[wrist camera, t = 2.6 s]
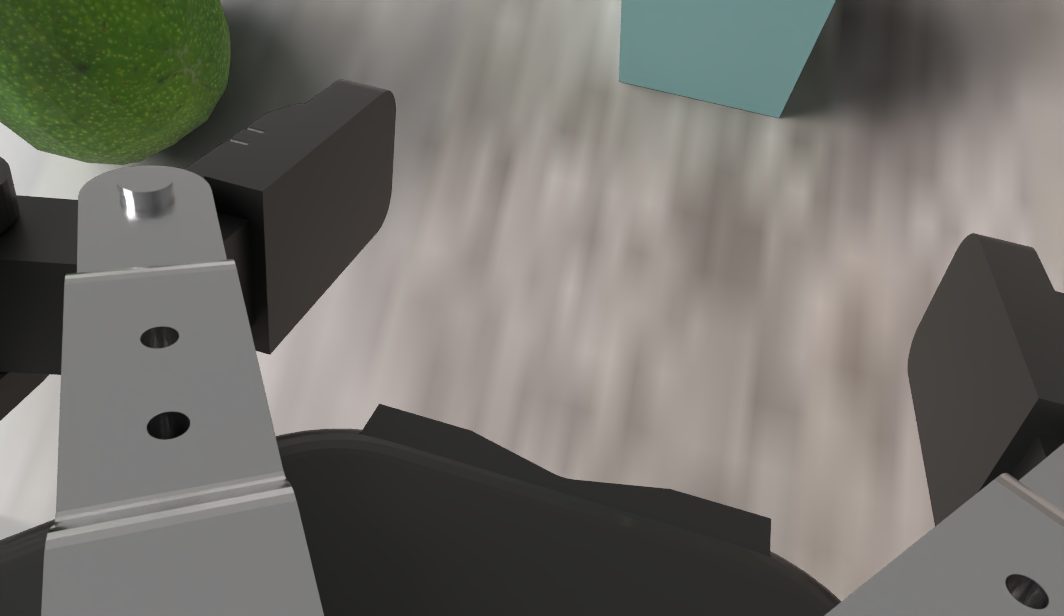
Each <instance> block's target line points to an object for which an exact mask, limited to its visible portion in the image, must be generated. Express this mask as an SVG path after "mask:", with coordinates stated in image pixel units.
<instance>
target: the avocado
mask: <svg viewBox="0 0 1064 616" xmlns="http://www.w3.org/2000/svg"><path fill="white" fill-rule="evenodd" d="M230 60H231V45H230V32H229V26H228V23H227V20H226V17H225V14H224V11H223V9H222V6H221V3H220V0H0V122H1V123H2V124H4V125H5V126H7V127H8V128H9V129H11V130H12V131H13V132H15V133H16V134H17V135H19V136H20V137H21V138H23V139H24V140H25V141H27V142H28V143H29V144H31V145H32V146H33V147H35V148H36V149H37V150H40V151H44V152H48V153H52V154H56V155H60V156H64V157H67V158H71V159H75V160H79V161H83V162H87V163H102V164H118V165H123V164H128V163H133V162H139V161H141V160H144V159H146V158H148V157H150V156H152V155H154V154H156V153H158V152H160V151H162V150H164V149H166V148H168V147H170V146H172V145H174V144H176V143H177V142H178V141H179V140H181V139H182V138H183V137H184V136H186V135H187V134H189V133H190V132H192V131H193V130H194V129H196V128H197V127H199V126H200V125H202V124H203V123H204V122H206V121H207V120H208V119H209V117H210V116H211V114H212V112H213V110H214V109H215V107H216V105H217V103H218V102H219V100H220V98H221V97H222V95H223V93H224V91H225V90H226V88H227V84H228V76H229V68H230Z"/></svg>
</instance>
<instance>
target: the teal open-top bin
mask: <svg viewBox="0 0 1064 616" xmlns="http://www.w3.org/2000/svg"><path fill="white" fill-rule="evenodd" d="M835 1H836V0H622V4H621V35H620V65H619V81H620V82H624V83H628V84H633V85H637V86H642V87H646V88H650V89H655V90H659V91H663V92H668V93H672V94H676V95H681V96H685V97H690V98H694V99H698V100H703V101H707V102H711V103H716V104H720V105H725V106H729V107H733V108H738V109H742V110H746V111H751V112H755V113H760V114H764V115H768V116H773V117H777V118H779V117H780V115H781V113H782V111H783V109H784V107H785V105H786V102H787V100H788V98H789V96H790V94H791V92H792V90H793V88H794V86H795V84H796V82H797V80H798V78H799V76H800V74H801V71H802V69H803V67H804V65H805V63H806V61H807V59H808V57H809V55H810V53H811V51H812V49H813V47H814V45H815V42H816V40H817V38H818V36H819V34H820V32H821V30H822V28H823V26H824V24H825V22H826V20H827V18H828V16H829V13H830V11H831V9H832V7H833V5H834V3H835Z"/></svg>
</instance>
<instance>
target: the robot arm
mask: <svg viewBox="0 0 1064 616" xmlns="http://www.w3.org/2000/svg"><path fill="white" fill-rule="evenodd" d="M395 116H396V106H395V99H394V96H393V94H392V93H391V92H390V91H388V90H384V89H380V88H375V87H371V86H367V85H363V84H359V83H355V82H351V81H346V80H342V79H341V80H338V81H336V82H335V83H333V84H332V85H331V86H329V87H328V88H326V89H325V90H324V91H322V92H321V93H319V94H318V95H317V96H315V97H314V98H312V99H311V100H310V101H308V102H307V103H305V104H302V103H298V104H295V105H291V106H288V107H284V108H281V109H277V110H274V111H270V112H268V113H266V114H265V115H263V116H262V117H260V118H259V119H257V120H256V121H254V122H253V123H252V124H250V125H249V126H248V128H247V130H246V129H243V130H241V131H240V132H238V133H237V134H235V135H234V136H232V137H231V139H230V142H229V141H225V142H224V143H222V144H221V145H219V146H218V147H216V148H215V149H213V150H212V151H210V152H209V153H207V154H206V155H204V156H203V157H201V158H200V159H198V160H197V161H196V162H194V163H193V164H191V165H190V166H188V167H187V168H185V169H180V168H175V167H168V166H157V165H143V166H132V167H126V168H120V169H116V170H112V171H109V172H106V173H103V174H101V175H99V176H97V177H95V178H93V179H91V180H90V181H88V182H87V183H86V184H85V185H84V186H83V187H82V189H81V190H80V192H79V196H78V200H69V199H56V198H43V197H30V196H17V195H16V192H15V188H14V184H13V180H12V175H11V171H10V167H9V165H8V163H7V162H6V161H5V160H4V159H3V158H1V157H0V421H1V420H2V419H3V418H4V417H5V416H6V415H7V414H8V413H9V412H10V411H11V410H12V409H14V408H15V407H16V406H17V405H18V404H19V403H20V402H21V401H22V400H23V399H24V398H25V397H26V396H28V395H29V394H30V393H31V392H32V391H33V390H34V389H35V388H36V387H37V386H38V385H39V384H41V383H42V382H43V381H44V380H45V378H46V377H47V376H48V375H49V374H57V375H61V393H60V420H59V448H58V475H57V503H56V516H55V519H54V520H52V521H49V522H46V523H44V524H41V525H39V526H36V527H33V528H31V529H28V530H26V531H23V532H20V533H18V534H15V535H13V536H10V537H7V538H5V539H3V540H0V616H1064V293H1060V292H1056V291H1055V290H1054V288H1053V286H1052V284H1051V282H1050V280H1049V278H1048V276H1047V274H1046V272H1045V269H1044V267H1043V265H1042V263H1041V261H1040V259H1039V257H1038V255H1037V253H1036V251H1035V249H1033V248H1032V247H1028V246H1024V245H1020V244H1016V243H1012V242H1008V241H1004V240H999V239H995V238H991V237H987V236H983V235H979V234H974V233H973V234H970V235H968V236H967V237H966V238H965V239H964V240H963V241H962V243H961V244H960V246H959V247H958V249H957V251H956V253H955V255H954V257H953V259H952V261H951V263H950V265H949V267H948V269H947V271H946V273H945V275H944V277H943V278H942V280H941V282H940V284H939V286H938V288H937V290H936V292H935V294H934V296H933V298H932V300H931V302H930V304H929V306H928V308H927V310H926V312H925V314H924V316H923V318H922V320H921V322H920V324H919V326H918V328H917V330H916V333H915V335H914V338H913V341H912V344H911V348H910V353H909V358H908V376H909V382H910V387H911V393H912V399H913V404H914V410H915V415H916V421H917V427H918V432H919V438H920V444H921V449H922V455H923V460H924V466H925V472H926V477H927V483H928V488H929V494H930V500H931V505H932V511H933V516H934V522H935V527H934V528H933V529H932V530H931V531H929V532H928V533H927V534H926V535H924V536H923V537H922V538H921V539H919V540H918V541H917V542H916V543H914V544H913V545H912V546H911V547H909V548H908V549H907V550H906V551H904V552H903V553H902V554H901V555H899V556H898V557H897V558H896V559H894V560H893V561H892V562H891V563H889V564H888V565H887V566H886V567H884V568H883V569H882V570H881V571H879V572H878V573H877V574H876V575H874V576H873V577H872V578H871V579H869V580H868V581H867V582H866V583H864V584H863V585H862V586H861V587H859V588H858V589H857V590H856V591H854V592H853V593H852V594H851V595H849V596H848V597H847V598H846V599H844V600H843V601H842V602H841V601H840V600H839V599H838V598H837V597H836V596H835V595H834V594H832V593H831V592H830V591H829V590H828V589H827V588H826V587H824V586H823V585H822V584H820V583H819V582H818V581H816V580H815V579H814V578H813V577H811V576H810V575H809V574H807V573H806V572H804V571H803V570H801V569H800V568H798V567H797V566H795V565H793V564H792V563H790V562H789V561H787V560H786V559H784V558H782V557H780V556H778V555H776V554H775V553H773V552H771V551H770V534H771V519H770V518H767V517H764V516H760V515H757V514H753V513H750V512H746V511H743V510H740V509H736V508H733V507H729V506H726V505H723V504H719V503H716V502H712V501H709V500H706V499H702V498H699V497H695V496H692V495H688V494H685V493H682V492H678V491H675V490H671V489H664V488H653V487H643V486H633V485H623V484H612V483H602V482H592V481H582V480H573V479H567V478H563V477H560V476H558V475H555V474H553V473H551V472H549V471H547V470H545V469H543V468H542V467H540V466H538V465H536V464H534V463H532V462H530V461H528V460H526V459H524V458H522V457H520V456H519V455H517V454H515V453H513V452H511V451H509V450H507V449H505V448H503V447H501V446H499V445H497V444H496V443H494V442H492V441H490V440H488V439H486V438H484V437H482V436H480V435H478V434H476V433H474V432H473V431H470V430H467V429H463V428H460V427H457V426H453V425H450V424H446V423H443V422H440V421H436V420H433V419H429V418H426V417H423V416H419V415H416V414H412V413H409V412H405V411H402V410H399V409H395V408H392V407H388V406H385V405H382V404H379V405H378V407H377V408H376V410H375V411H374V413H373V415H372V416H371V418H370V419H369V421H368V422H367V424H366V425H365V427H364V429H363V430H358V429H320V430H309V431H301V432H295V433H290V434H284V435H280V436H276V437H275V432H274V428H273V424H272V419H271V415H270V411H269V406H268V402H267V398H266V394H265V389H264V385H263V381H262V376H261V372H260V368H259V363H258V359H257V355H256V351H259V352H263V353H266V354H271V353H272V352H273V351H274V349H275V348H276V347H277V346H278V345H279V344H280V343H281V341H282V340H283V339H284V338H285V337H286V336H287V335H288V333H289V332H290V331H291V330H292V329H293V328H294V327H295V325H296V324H297V323H298V322H299V321H300V320H301V319H302V317H303V316H304V315H305V314H306V313H307V312H308V311H309V309H310V308H311V307H312V306H313V305H314V304H315V303H316V301H317V300H318V299H319V298H320V297H321V296H322V295H323V294H324V292H325V291H326V290H327V289H328V288H329V287H330V286H331V284H332V283H333V282H334V281H335V280H336V279H337V278H338V276H339V275H340V274H341V273H342V272H343V271H344V270H345V268H346V267H347V266H348V265H349V264H350V263H351V262H352V260H353V259H354V258H355V257H356V256H357V255H358V254H359V252H360V251H361V250H362V249H363V248H364V247H365V246H366V244H367V243H368V242H369V241H370V240H371V239H372V238H373V236H374V235H375V234H376V233H377V232H378V231H379V229H380V228H381V226H382V224H383V222H384V220H385V217H386V214H387V211H388V208H389V204H390V199H391V191H392V173H393V154H394V135H395Z"/></svg>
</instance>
